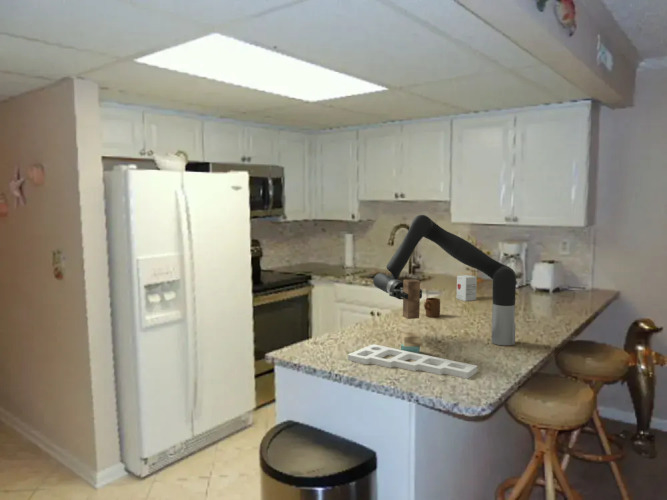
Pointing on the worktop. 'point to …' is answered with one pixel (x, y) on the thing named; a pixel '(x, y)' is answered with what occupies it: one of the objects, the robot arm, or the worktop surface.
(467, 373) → the holder
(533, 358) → the worktop surface
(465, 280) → the supplement box
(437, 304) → the mug
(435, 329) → the worktop surface
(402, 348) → the tower base
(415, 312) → the walnut column
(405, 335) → the tower mid
